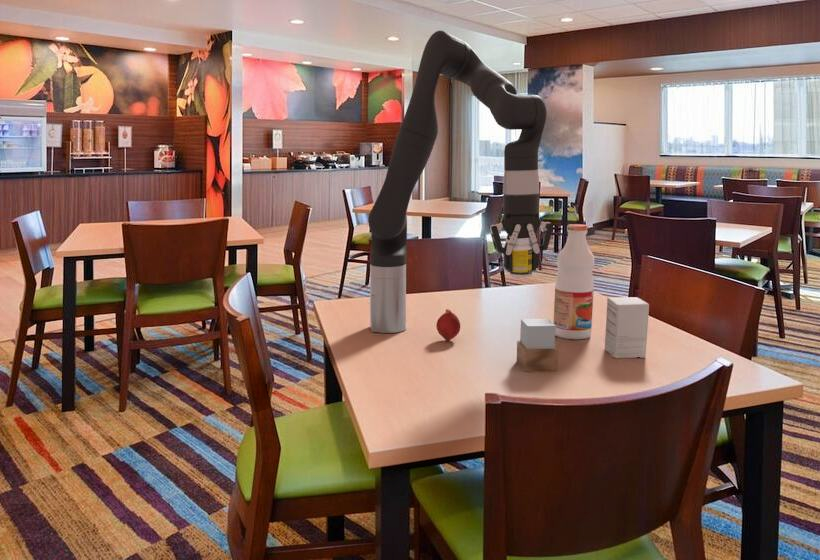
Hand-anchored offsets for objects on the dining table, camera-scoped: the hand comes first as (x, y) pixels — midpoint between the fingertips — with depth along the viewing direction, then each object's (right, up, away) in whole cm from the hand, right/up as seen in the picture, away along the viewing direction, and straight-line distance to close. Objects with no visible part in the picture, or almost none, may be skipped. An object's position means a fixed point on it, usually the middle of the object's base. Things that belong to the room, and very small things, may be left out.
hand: (521, 270), depth 145 cm
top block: (+3, -16, 0) cm, 16 cm away
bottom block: (+3, -21, +1) cm, 21 cm away
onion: (-15, -17, +20) cm, 30 cm away
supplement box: (+26, -19, +10) cm, 33 cm away
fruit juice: (+17, -16, +25) cm, 34 cm away
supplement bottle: (0, -1, 0) cm, 1 cm away
